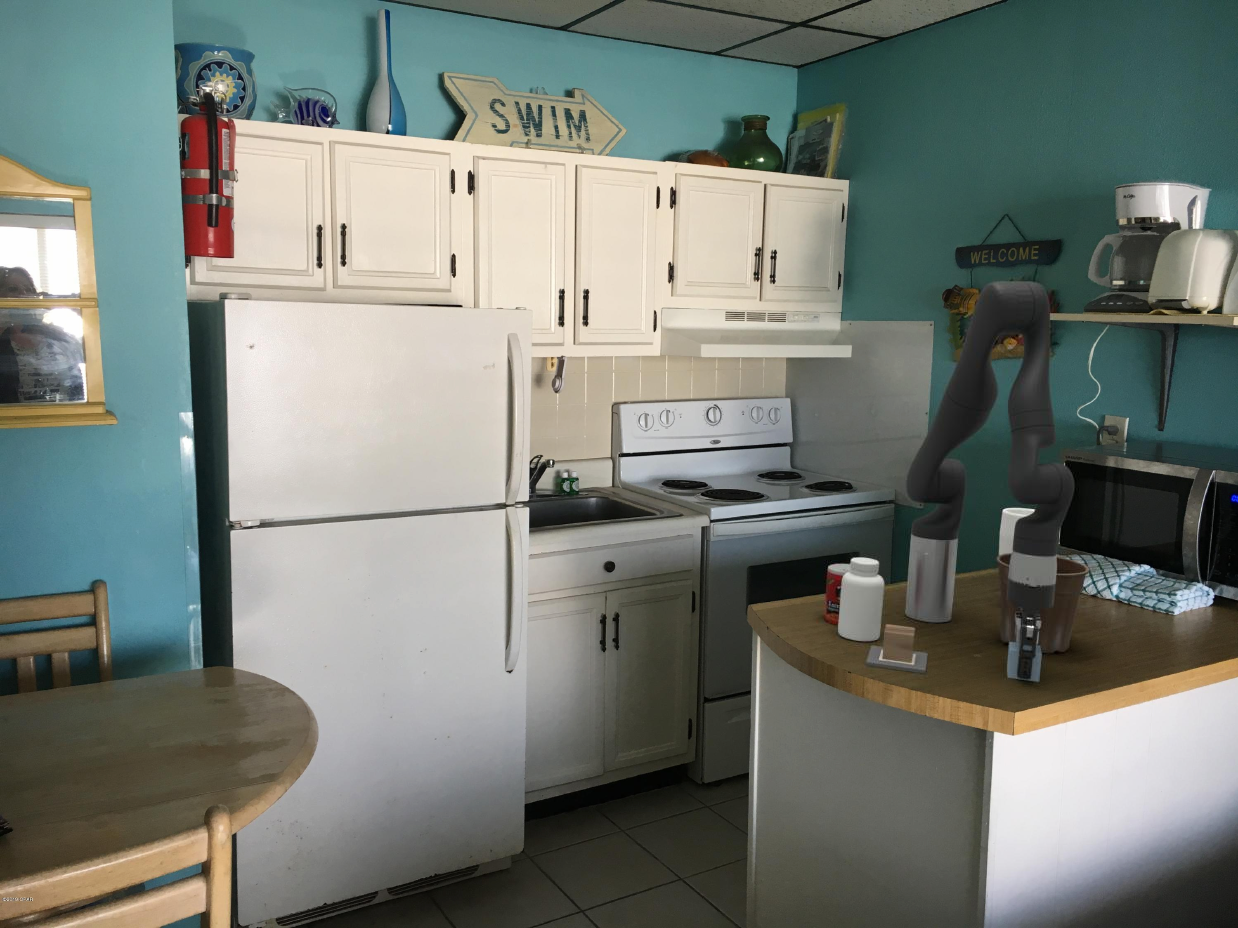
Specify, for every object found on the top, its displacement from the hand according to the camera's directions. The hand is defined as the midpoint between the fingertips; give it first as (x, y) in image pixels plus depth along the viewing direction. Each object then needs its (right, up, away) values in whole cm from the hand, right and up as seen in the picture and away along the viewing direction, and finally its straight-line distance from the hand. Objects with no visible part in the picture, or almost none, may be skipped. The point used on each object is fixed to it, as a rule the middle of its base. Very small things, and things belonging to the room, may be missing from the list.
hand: (1022, 672), depth 170 cm
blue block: (0, -1, 0) cm, 1 cm away
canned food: (-25, +4, +29) cm, 38 cm away
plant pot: (+10, +1, +18) cm, 20 cm away
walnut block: (-20, +2, +5) cm, 21 cm away
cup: (+16, +5, +42) cm, 45 cm away
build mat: (-20, +1, +5) cm, 21 cm away
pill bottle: (-24, +3, +19) cm, 31 cm away
